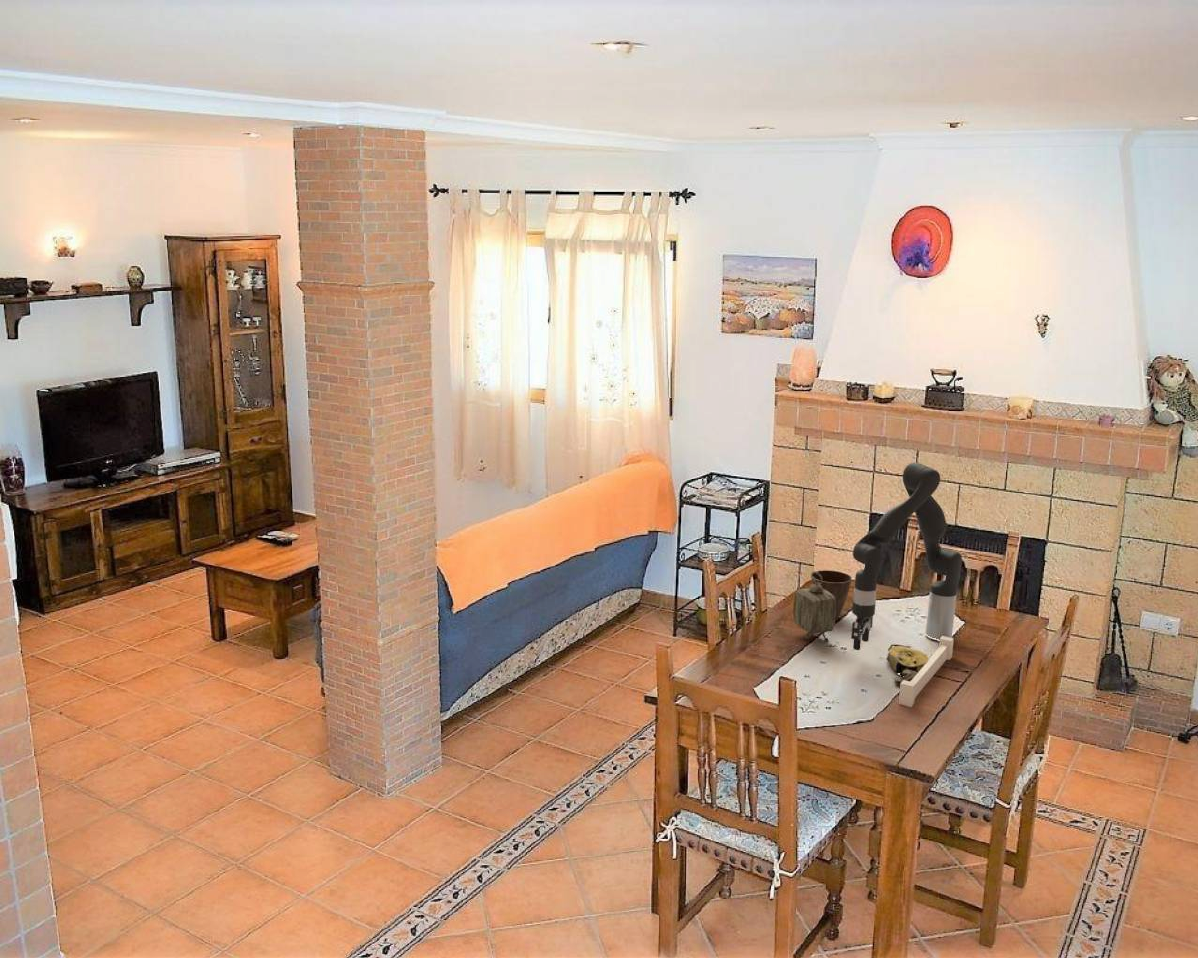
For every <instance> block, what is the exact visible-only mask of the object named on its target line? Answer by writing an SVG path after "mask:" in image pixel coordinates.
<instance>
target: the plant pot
mask: <svg viewBox="0 0 1198 958" xmlns="http://www.w3.org/2000/svg"><path fill="white" fill-rule="evenodd" d="M815 572H818V573H819V574H820V575H821V576H822V580H823V582H822V584H820V585H821V586H822V588H823V589H824V590H826V591H828V592H829V593H831V594H832V595H833V596H834V598H835V601H836V617H835V620H836V619H838V618H839V617H840V615H841V613H842V610H843V608H844V606H845V604H846V600H847V598H848V595H849V591H850V588H851V583H852V576H851V575H849V574H848V573H845V572H841V571H837V570H815ZM812 576H813V579H814V580H818V583H821V578H820V576H819V575H818V574H816V573H814V574H813V575H812ZM812 584H815V583H814V582H813V580H812V579H811V585H812Z"/></svg>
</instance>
